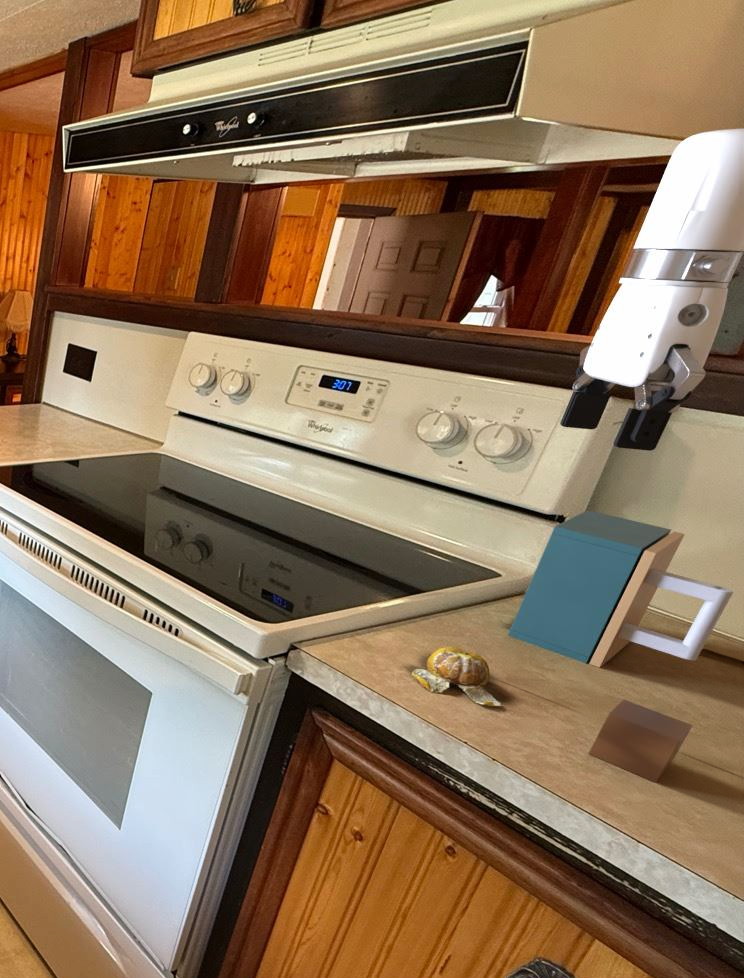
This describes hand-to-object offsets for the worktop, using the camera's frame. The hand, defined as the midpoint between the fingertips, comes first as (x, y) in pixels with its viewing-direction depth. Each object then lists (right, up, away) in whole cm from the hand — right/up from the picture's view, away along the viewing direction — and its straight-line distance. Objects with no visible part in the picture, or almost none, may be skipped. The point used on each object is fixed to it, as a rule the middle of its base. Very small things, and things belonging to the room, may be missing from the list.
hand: (603, 437), depth 79 cm
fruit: (-11, -29, +7) cm, 31 cm away
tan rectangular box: (+19, -27, +13) cm, 36 cm away
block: (-2, -34, -5) cm, 34 cm away
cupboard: (+15, -25, +19) cm, 35 cm away
